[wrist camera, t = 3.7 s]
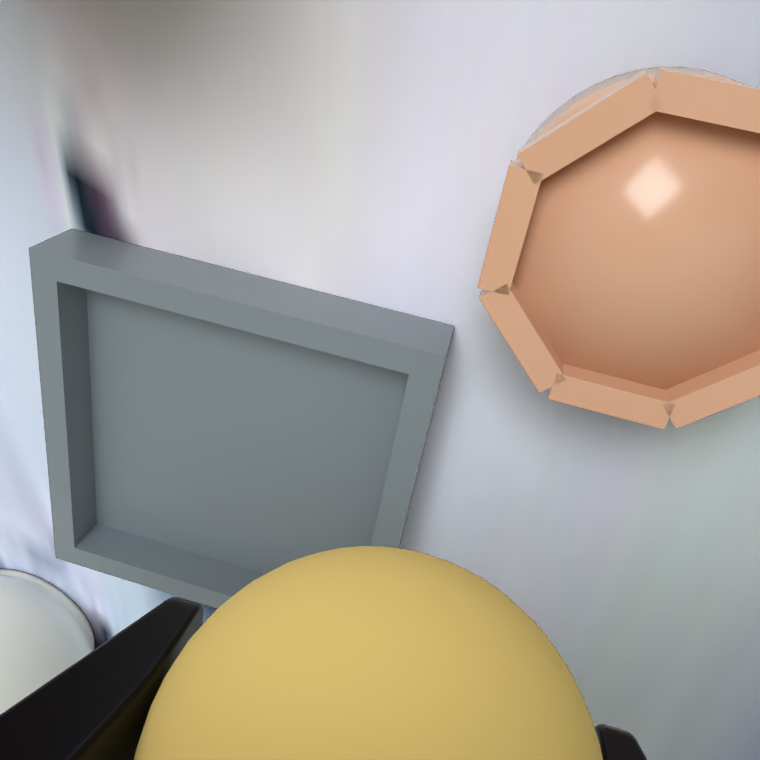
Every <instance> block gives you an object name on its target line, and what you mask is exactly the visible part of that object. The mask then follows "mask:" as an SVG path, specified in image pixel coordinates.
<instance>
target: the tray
mask: <svg viewBox="0 0 760 760" xmlns="http://www.w3.org/2000/svg"><path fill="white" fill-rule="evenodd" d="M29 256H30V267H31V279H32V291H33V302H34V314H35V325H36V337H37V348H38V360H39V371H40V383H41V394H42V406H43V417H44V429H45V441H46V452H47V464H48V475H49V487H50V498H51V510H52V521H53V533H54V544H55V556H56V558H58V559H61V560H64V561H68V562H71V563H74V564H77V565H80V566H84V567H87V568H90V569H93V570H96V571H100V572H103V573H106V574H109V575H112V576H115V577H119V578H122V579H125V580H128V581H131V582H135V583H138V584H141V585H144V586H147V587H151V588H154V589H157V590H160V591H163V592H167V593H170V594H173V595H176V596H179V597H183V598H186V599H189V600H192V601H195V602H199V603H202V604H205V605H208V606H211V607H214V608H219V607H220V606H221V605H222V604H224V603H225V602H226V601H227V600H229V599H230V598H231V597H232V596H234V595H235V594H236V593H237V592H239V591H240V590H241V589H243V588H244V587H245V586H247V585H248V584H249V583H251V582H252V581H254V580H256V579H257V578H259V577H261V576H263V575H265V574H267V573H269V572H271V571H272V570H274V569H276V568H278V567H280V566H282V565H284V564H286V563H288V562H291V561H294V560H297V559H299V558H302V557H305V556H308V555H312V554H316V553H319V552H323V551H328V550H333V549H338V548H345V547H356V546H383V547H391V548H399V545H400V541H401V537H402V533H403V529H404V525H405V521H406V517H407V513H408V509H409V505H410V501H411V497H412V493H413V489H414V485H415V481H416V477H417V473H418V469H419V465H420V461H421V457H422V453H423V449H424V445H425V441H426V437H427V433H428V429H429V425H430V421H431V417H432V413H433V409H434V405H435V401H436V397H437V393H438V389H439V385H440V381H441V377H442V373H443V369H444V365H445V361H446V357H447V353H448V349H449V345H450V341H451V337H452V333H453V329H454V326H453V325H449V324H445V323H441V322H437V321H433V320H429V319H425V318H421V317H417V316H413V315H409V314H405V313H402V312H398V311H394V310H390V309H386V308H382V307H378V306H374V305H370V304H366V303H362V302H358V301H354V300H350V299H347V298H343V297H339V296H335V295H331V294H327V293H323V292H319V291H315V290H311V289H307V288H303V287H299V286H295V285H292V284H288V283H284V282H280V281H276V280H272V279H268V278H264V277H260V276H256V275H252V274H248V273H244V272H241V271H237V270H233V269H229V268H225V267H221V266H217V265H213V264H209V263H205V262H201V261H197V260H193V259H189V258H186V257H182V256H178V255H174V254H170V253H166V252H162V251H158V250H154V249H150V248H146V247H142V246H138V245H134V244H131V243H127V242H123V241H119V240H115V239H111V238H107V237H103V236H99V235H95V234H91V233H87V232H83V231H79V230H76V229H70V230H68V231H65V232H63V233H61V234H59V235H56V236H54V237H52V238H50V239H48V240H45V241H43V242H41V243H39V244H37V245H34V246H32V247H30V248H29Z"/></svg>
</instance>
